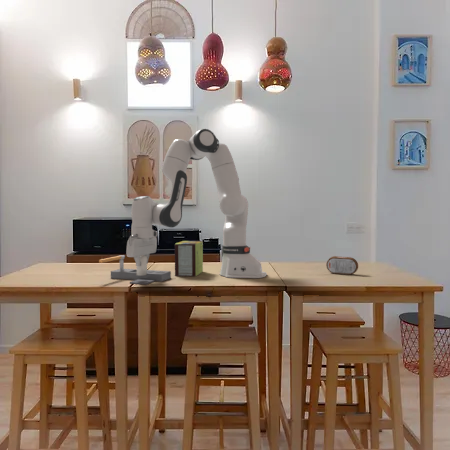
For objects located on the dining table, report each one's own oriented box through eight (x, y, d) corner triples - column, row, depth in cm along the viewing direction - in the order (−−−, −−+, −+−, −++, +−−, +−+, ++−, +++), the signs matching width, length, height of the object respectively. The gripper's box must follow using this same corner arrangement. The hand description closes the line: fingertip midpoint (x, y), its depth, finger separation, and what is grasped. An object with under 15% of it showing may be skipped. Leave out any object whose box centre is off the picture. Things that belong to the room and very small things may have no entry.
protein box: (203, 271, 219) (203, 241, 218) (195, 276, 204) (195, 243, 203) (182, 271, 221) (182, 240, 220) (174, 276, 206) (174, 243, 205)
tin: (358, 274, 210) (358, 257, 210) (357, 275, 207) (357, 258, 207) (327, 272, 216) (327, 255, 216) (325, 273, 213) (325, 256, 213)
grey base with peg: (170, 278, 200) (170, 259, 199) (161, 281, 191) (161, 262, 191) (121, 275, 208) (121, 257, 207) (110, 278, 199) (110, 259, 199)
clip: (103, 262, 187) (103, 260, 187) (97, 262, 188) (97, 259, 188) (126, 258, 203) (126, 255, 203) (120, 257, 204) (120, 255, 204)
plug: (148, 274, 191) (148, 256, 190) (143, 275, 186) (143, 257, 186) (139, 273, 192) (140, 255, 191) (134, 274, 188) (134, 256, 187)
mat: (155, 281, 191) (155, 280, 191) (146, 284, 184) (146, 283, 184) (139, 280, 194) (139, 278, 194) (129, 283, 186) (129, 282, 186)
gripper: (135, 235, 177) (136, 269, 178) (159, 232, 197) (159, 262, 197) (122, 235, 179) (122, 268, 180) (146, 231, 199) (146, 261, 199)
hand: (142, 265), depth 189 cm, fingers closed on plug, 4 cm apart
